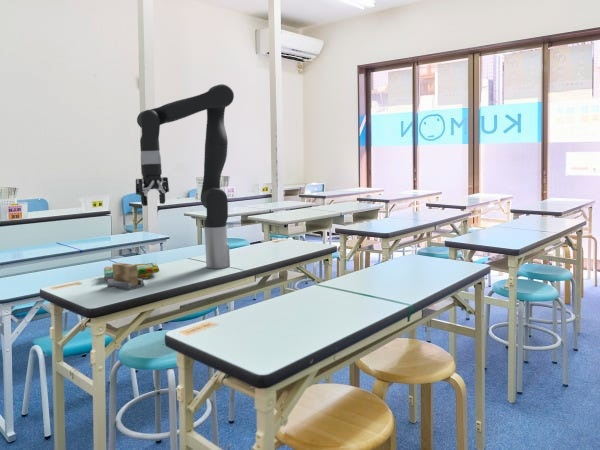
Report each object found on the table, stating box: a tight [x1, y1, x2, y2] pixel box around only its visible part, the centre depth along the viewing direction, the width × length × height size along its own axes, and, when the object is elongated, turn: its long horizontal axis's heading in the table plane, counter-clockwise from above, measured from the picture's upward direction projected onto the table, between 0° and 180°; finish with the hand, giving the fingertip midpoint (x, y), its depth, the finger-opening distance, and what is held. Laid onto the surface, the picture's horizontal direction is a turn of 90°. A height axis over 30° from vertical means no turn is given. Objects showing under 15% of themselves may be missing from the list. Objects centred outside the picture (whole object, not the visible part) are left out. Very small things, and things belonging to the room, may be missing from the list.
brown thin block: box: [111, 262, 138, 286], centre depth 185 cm, size 10×3×7 cm, turn 56°
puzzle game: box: [103, 262, 160, 282], centre depth 201 cm, size 12×5×20 cm
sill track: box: [106, 278, 145, 292], centre depth 186 cm, size 12×7×3 cm, turn 56°
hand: (153, 204), depth 199 cm, fingers open, 8 cm apart
